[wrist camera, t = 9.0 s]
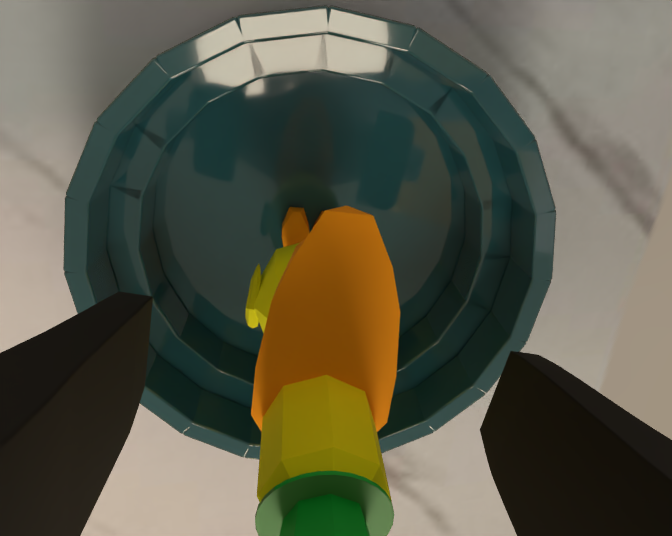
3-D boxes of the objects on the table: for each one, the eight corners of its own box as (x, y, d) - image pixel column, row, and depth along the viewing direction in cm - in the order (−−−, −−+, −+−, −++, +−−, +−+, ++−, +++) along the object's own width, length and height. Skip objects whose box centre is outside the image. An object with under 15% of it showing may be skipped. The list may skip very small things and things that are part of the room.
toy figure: (265, 121, 17) (214, 302, 6) (380, 136, 17) (544, 329, 6) (249, 317, 19) (193, 701, 8) (349, 325, 20) (424, 701, 9)
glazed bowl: (560, 67, 17) (633, 77, 13) (441, 408, 22) (471, 483, 18) (123, -36, 15) (69, -58, 11) (101, 364, 20) (59, 438, 16)
